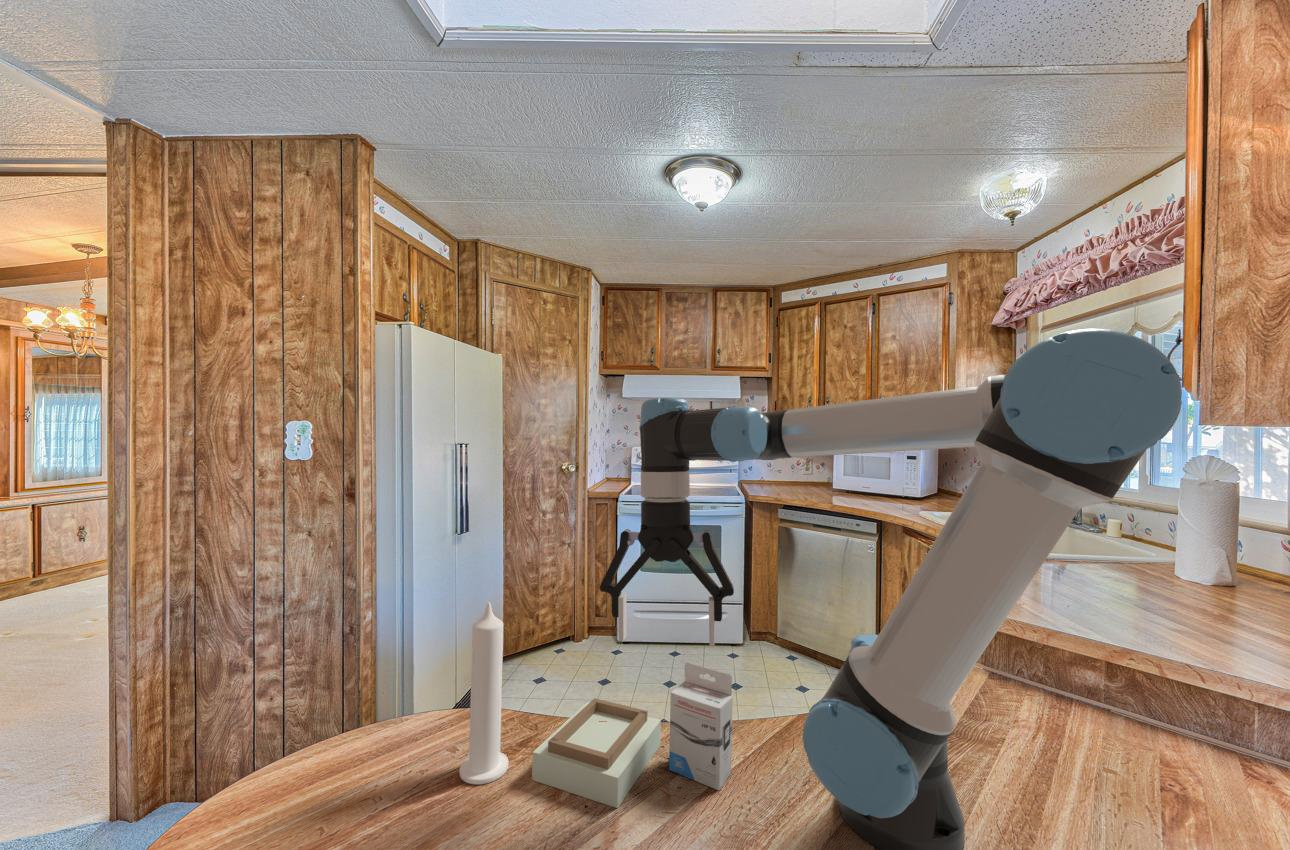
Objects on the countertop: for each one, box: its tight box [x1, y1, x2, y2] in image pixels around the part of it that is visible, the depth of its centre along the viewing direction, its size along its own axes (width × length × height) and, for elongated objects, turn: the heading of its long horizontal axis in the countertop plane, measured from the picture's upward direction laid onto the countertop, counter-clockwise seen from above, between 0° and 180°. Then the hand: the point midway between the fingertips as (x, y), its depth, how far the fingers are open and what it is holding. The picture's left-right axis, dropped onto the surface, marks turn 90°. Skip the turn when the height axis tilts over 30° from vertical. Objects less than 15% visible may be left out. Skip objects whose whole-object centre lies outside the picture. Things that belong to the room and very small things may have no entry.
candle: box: [458, 601, 510, 785], centre depth 77 cm, size 7×7×25 cm
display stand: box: [531, 698, 662, 809], centre depth 79 cm, size 14×16×6 cm
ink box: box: [668, 661, 734, 791], centre depth 77 cm, size 9×5×15 cm, turn 58°
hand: (666, 640), depth 76 cm, fingers open, 13 cm apart
